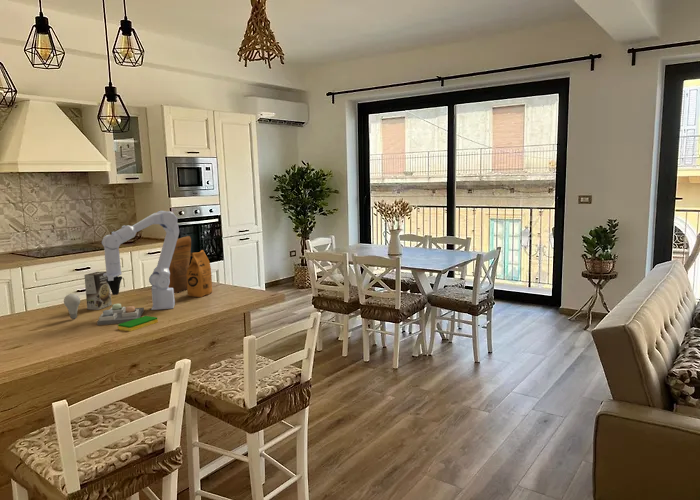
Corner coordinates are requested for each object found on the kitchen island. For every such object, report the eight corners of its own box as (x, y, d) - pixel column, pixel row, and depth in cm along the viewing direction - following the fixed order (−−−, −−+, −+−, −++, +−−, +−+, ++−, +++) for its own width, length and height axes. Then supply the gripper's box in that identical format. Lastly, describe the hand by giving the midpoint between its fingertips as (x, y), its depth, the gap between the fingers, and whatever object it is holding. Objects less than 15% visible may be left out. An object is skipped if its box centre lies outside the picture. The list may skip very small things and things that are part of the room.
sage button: (122, 307, 220) (121, 303, 220) (120, 309, 217) (120, 305, 217) (113, 308, 220) (112, 304, 219) (111, 310, 216) (111, 306, 216)
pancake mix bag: (198, 287, 273) (195, 235, 269) (173, 294, 256) (169, 239, 252) (188, 286, 276) (185, 235, 272) (163, 294, 259) (159, 239, 255)
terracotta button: (135, 310, 216) (135, 305, 215) (134, 312, 212) (133, 307, 212) (126, 311, 215) (126, 306, 215) (125, 313, 211) (124, 308, 211)
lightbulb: (85, 317, 216) (82, 292, 214) (73, 321, 210) (70, 295, 209) (74, 316, 218) (71, 291, 216) (62, 320, 212) (59, 295, 211)
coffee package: (184, 296, 251) (181, 253, 248) (198, 291, 263) (195, 249, 260) (201, 297, 248) (198, 253, 245) (215, 292, 260) (212, 249, 257)
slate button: (113, 314, 210) (113, 309, 210) (111, 316, 207) (111, 311, 207) (104, 314, 210) (103, 310, 209) (102, 317, 206) (101, 312, 206)
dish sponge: (117, 330, 198) (117, 324, 198) (146, 321, 211) (145, 315, 210) (130, 332, 195) (129, 326, 195) (158, 323, 208) (158, 317, 207)
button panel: (143, 310, 226) (143, 304, 225) (137, 321, 208) (136, 314, 208) (107, 313, 222) (106, 306, 222) (97, 325, 205) (96, 318, 204)
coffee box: (99, 310, 229) (96, 274, 227) (86, 309, 230) (83, 274, 228) (112, 305, 238) (109, 271, 235) (100, 304, 239) (97, 270, 237)
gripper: (106, 260, 221) (109, 291, 223) (98, 266, 207) (101, 298, 209) (123, 259, 223) (126, 290, 225) (117, 265, 209) (120, 297, 211)
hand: (115, 294), depth 217 cm, fingers closed
